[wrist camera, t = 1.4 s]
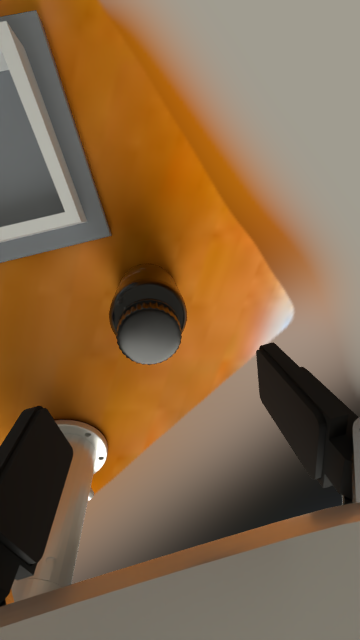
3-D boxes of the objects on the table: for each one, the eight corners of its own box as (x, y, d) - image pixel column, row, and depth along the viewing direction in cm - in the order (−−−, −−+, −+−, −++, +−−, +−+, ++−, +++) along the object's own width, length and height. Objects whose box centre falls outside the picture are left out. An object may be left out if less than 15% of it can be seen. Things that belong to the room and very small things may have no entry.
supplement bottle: (125, 255, 25) (113, 278, 14) (182, 272, 27) (210, 305, 16) (113, 310, 27) (93, 367, 16) (166, 323, 29) (180, 382, 18)
